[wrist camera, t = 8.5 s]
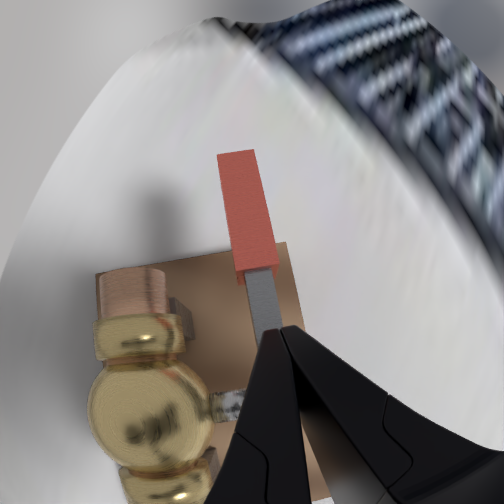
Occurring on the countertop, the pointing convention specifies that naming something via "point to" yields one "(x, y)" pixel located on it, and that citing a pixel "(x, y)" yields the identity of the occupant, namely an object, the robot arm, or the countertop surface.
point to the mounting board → (228, 332)
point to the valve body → (153, 393)
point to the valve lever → (251, 237)
